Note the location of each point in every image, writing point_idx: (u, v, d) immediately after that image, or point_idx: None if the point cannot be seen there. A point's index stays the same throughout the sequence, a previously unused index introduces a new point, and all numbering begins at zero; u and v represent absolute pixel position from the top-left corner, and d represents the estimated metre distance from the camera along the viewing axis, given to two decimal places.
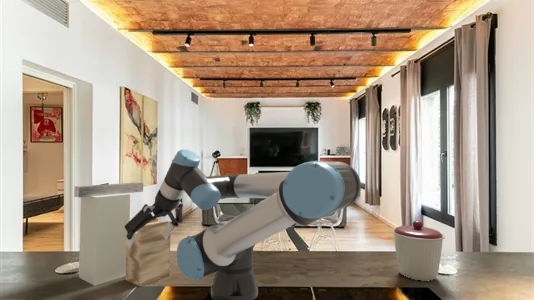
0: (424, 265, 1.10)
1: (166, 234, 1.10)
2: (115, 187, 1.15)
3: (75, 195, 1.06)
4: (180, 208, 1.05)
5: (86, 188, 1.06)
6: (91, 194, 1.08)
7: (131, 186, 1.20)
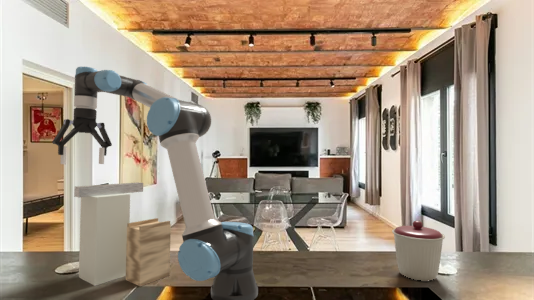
0: (424, 265, 1.10)
1: (101, 159, 1.22)
2: (115, 187, 1.15)
3: (75, 195, 1.06)
4: (102, 127, 1.22)
5: (86, 188, 1.06)
6: (91, 194, 1.08)
7: (131, 186, 1.20)
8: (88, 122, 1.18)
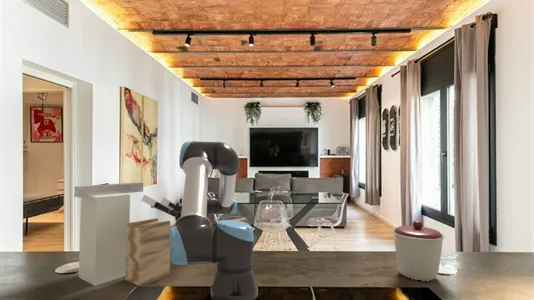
0: (424, 265, 1.10)
1: None
2: (115, 187, 1.15)
3: (75, 195, 1.06)
4: None
5: (86, 188, 1.06)
6: (91, 194, 1.08)
7: (131, 186, 1.20)
8: None
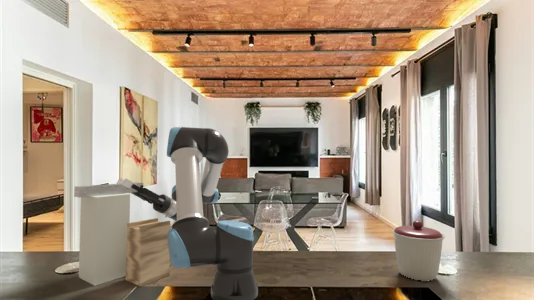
0: (424, 265, 1.10)
1: None
2: (115, 187, 1.15)
3: (75, 195, 1.06)
4: None
5: (86, 188, 1.06)
6: (91, 194, 1.08)
7: None
8: None
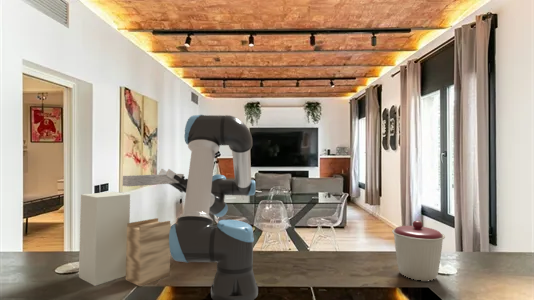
0: (424, 265, 1.10)
1: None
2: (160, 177, 1.16)
3: (123, 184, 1.07)
4: None
5: (134, 177, 1.08)
6: (139, 183, 1.09)
7: None
8: None
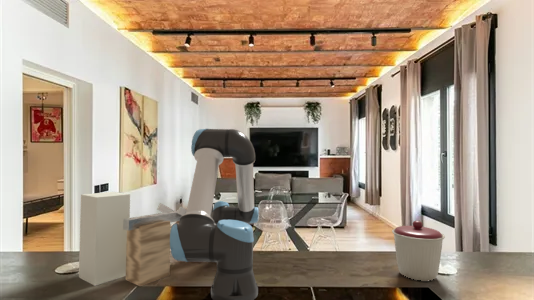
0: (424, 265, 1.10)
1: None
2: (161, 217, 1.15)
3: (124, 228, 1.06)
4: None
5: (135, 221, 1.06)
6: None
7: (175, 215, 1.20)
8: None
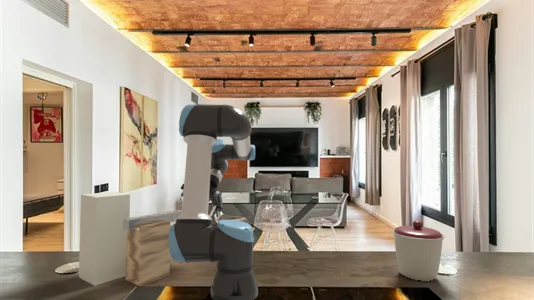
0: (424, 265, 1.10)
1: (210, 213, 1.29)
2: (161, 217, 1.15)
3: (124, 228, 1.06)
4: (220, 193, 1.40)
5: (135, 221, 1.06)
6: None
7: (175, 215, 1.20)
8: None
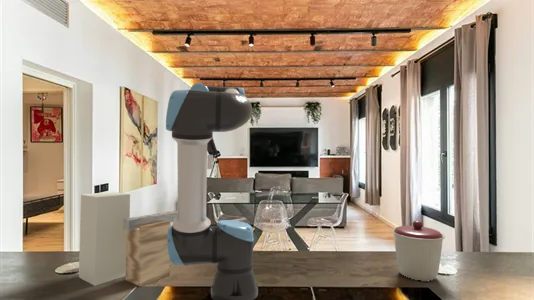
0: (424, 265, 1.10)
1: (210, 165, 1.39)
2: (161, 217, 1.15)
3: (124, 228, 1.06)
4: None
5: (135, 221, 1.06)
6: None
7: (175, 215, 1.20)
8: None
